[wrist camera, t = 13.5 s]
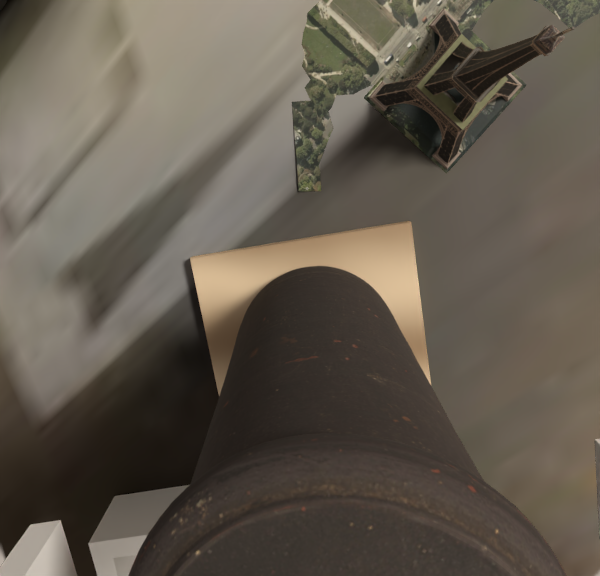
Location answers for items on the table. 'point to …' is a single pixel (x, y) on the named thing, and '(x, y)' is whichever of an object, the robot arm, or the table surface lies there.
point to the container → (335, 457)
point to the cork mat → (304, 253)
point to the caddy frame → (127, 529)
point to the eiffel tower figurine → (414, 71)
